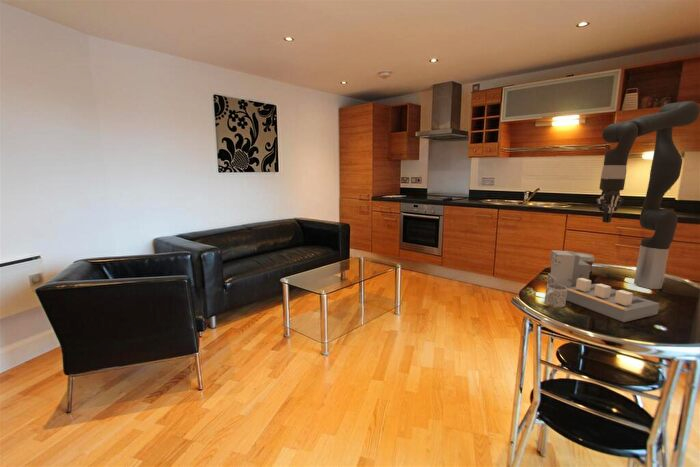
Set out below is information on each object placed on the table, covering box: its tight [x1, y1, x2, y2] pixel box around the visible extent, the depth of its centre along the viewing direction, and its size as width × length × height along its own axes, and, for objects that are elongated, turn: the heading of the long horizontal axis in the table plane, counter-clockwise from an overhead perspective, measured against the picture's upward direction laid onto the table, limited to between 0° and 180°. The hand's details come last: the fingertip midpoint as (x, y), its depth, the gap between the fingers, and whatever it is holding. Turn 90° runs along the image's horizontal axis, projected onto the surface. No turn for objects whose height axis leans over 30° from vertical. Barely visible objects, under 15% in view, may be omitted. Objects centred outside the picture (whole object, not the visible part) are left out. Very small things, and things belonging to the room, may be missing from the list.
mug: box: [544, 284, 567, 308], centre depth 127 cm, size 10×7×7 cm
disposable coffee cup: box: [575, 252, 596, 271], centre depth 154 cm, size 10×10×12 cm
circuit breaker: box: [546, 249, 593, 288], centre depth 145 cm, size 8×14×15 cm, turn 78°
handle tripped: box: [594, 283, 612, 298], centre depth 125 cm, size 3×4×4 cm
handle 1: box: [575, 278, 592, 292], centre depth 131 cm, size 3×4×4 cm
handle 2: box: [614, 289, 634, 306], centre depth 118 cm, size 3×4×4 cm
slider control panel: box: [566, 283, 661, 323], centre depth 127 cm, size 18×22×4 cm
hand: (606, 222), depth 135 cm, fingers closed
